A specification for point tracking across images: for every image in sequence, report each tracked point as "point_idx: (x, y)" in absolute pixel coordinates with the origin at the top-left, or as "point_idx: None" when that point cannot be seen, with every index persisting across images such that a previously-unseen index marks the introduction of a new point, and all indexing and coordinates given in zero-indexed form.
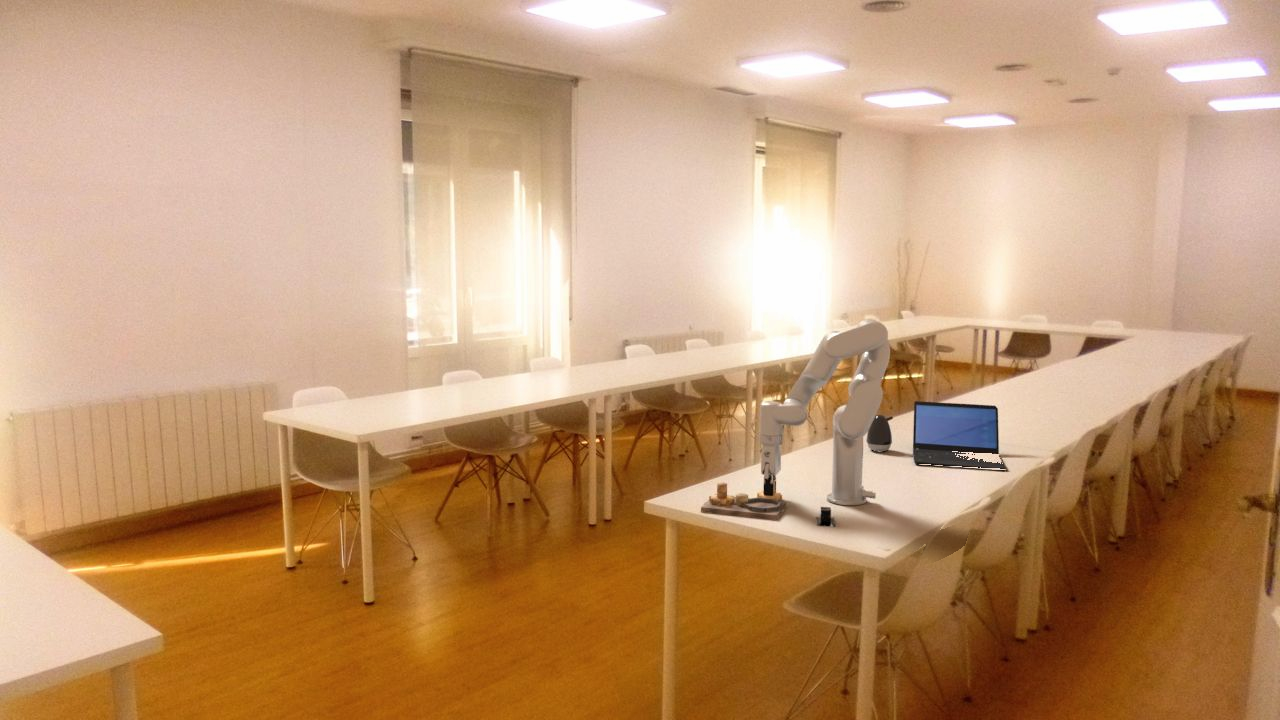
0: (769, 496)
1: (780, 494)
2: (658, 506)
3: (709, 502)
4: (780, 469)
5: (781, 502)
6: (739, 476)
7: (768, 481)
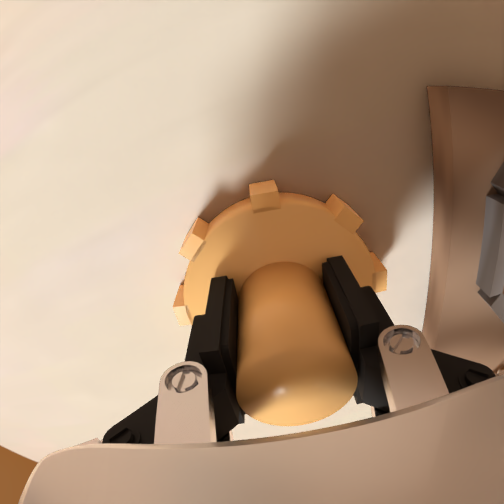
0: (357, 273)
1: (242, 216)
2: None
3: None
4: (96, 459)
5: (471, 126)
6: (43, 456)
7: (452, 371)
